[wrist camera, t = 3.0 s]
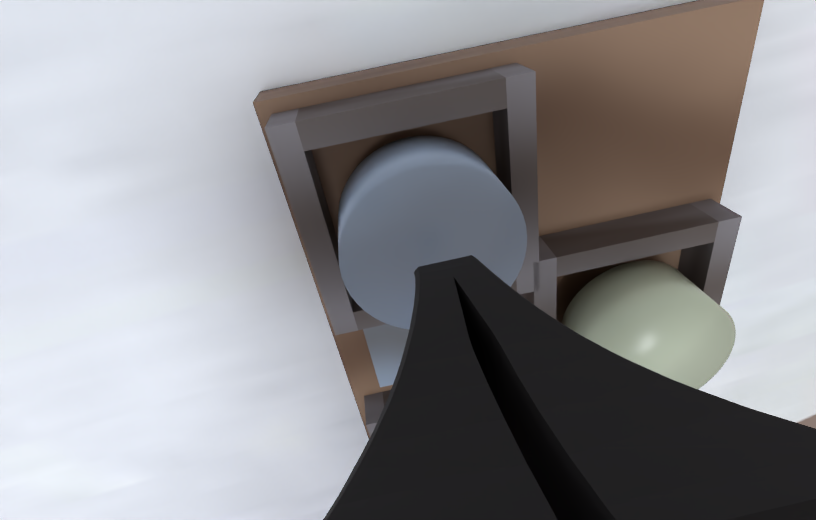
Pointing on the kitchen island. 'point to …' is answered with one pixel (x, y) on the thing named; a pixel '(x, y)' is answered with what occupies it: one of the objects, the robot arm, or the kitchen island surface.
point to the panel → (537, 154)
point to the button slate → (422, 222)
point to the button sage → (654, 321)
